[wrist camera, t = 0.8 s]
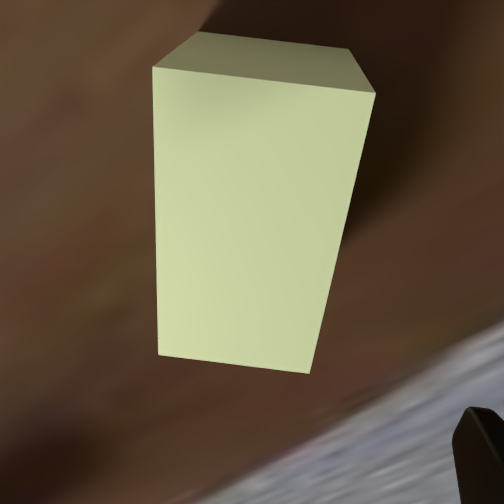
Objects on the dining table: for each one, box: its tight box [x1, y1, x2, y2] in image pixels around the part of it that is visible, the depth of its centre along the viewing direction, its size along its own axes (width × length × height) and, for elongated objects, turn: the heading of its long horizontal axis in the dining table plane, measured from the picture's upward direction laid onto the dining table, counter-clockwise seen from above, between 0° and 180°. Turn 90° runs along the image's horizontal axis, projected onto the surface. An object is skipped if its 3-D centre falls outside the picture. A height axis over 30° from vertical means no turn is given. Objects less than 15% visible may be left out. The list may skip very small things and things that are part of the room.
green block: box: [153, 31, 376, 373], centre depth 15 cm, size 5×9×6 cm, turn 174°
